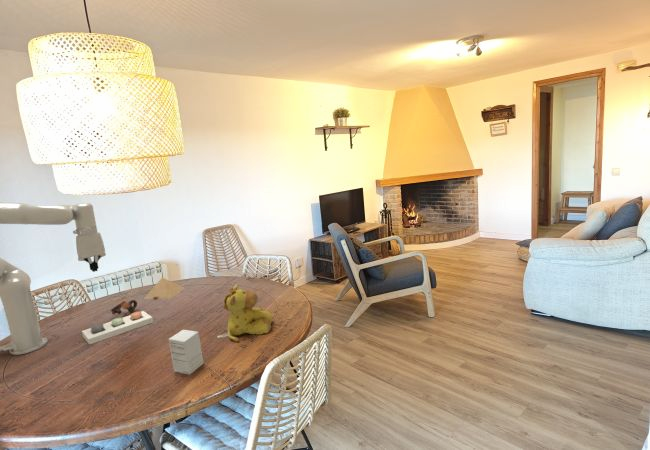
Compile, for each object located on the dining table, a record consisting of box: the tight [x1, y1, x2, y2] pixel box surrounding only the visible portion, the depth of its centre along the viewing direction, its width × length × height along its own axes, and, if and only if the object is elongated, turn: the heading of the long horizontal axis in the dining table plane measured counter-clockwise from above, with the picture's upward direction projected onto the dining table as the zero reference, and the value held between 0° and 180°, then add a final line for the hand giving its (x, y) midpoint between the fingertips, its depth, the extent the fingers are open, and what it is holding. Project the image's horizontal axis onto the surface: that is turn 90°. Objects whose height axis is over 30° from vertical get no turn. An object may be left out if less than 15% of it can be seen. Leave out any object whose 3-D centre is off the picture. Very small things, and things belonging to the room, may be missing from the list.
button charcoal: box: [90, 323, 104, 334], centre depth 162 cm, size 5×5×4 cm
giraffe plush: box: [217, 283, 274, 343], centre depth 156 cm, size 20×24×19 cm
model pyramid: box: [143, 277, 186, 300], centre depth 209 cm, size 17×17×10 cm
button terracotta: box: [131, 311, 142, 321], centre depth 173 cm, size 5×5×4 cm
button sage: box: [110, 317, 124, 327], centre depth 167 cm, size 5×5×4 cm
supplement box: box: [168, 329, 204, 376], centre depth 130 cm, size 7×7×13 cm
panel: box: [81, 310, 154, 346], centre depth 168 cm, size 26×12×2 cm, turn 134°
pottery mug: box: [110, 299, 138, 317], centre depth 184 cm, size 12×10×8 cm
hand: (94, 270), depth 167 cm, fingers closed
